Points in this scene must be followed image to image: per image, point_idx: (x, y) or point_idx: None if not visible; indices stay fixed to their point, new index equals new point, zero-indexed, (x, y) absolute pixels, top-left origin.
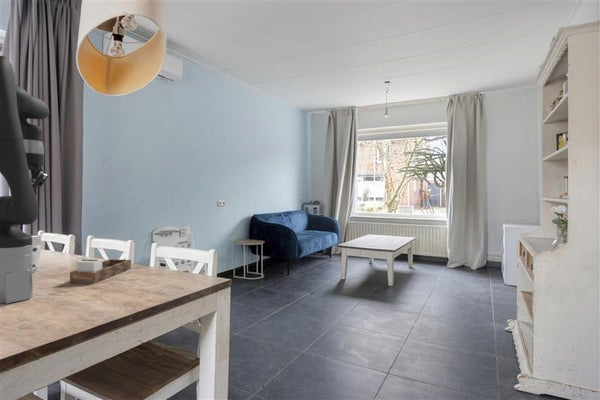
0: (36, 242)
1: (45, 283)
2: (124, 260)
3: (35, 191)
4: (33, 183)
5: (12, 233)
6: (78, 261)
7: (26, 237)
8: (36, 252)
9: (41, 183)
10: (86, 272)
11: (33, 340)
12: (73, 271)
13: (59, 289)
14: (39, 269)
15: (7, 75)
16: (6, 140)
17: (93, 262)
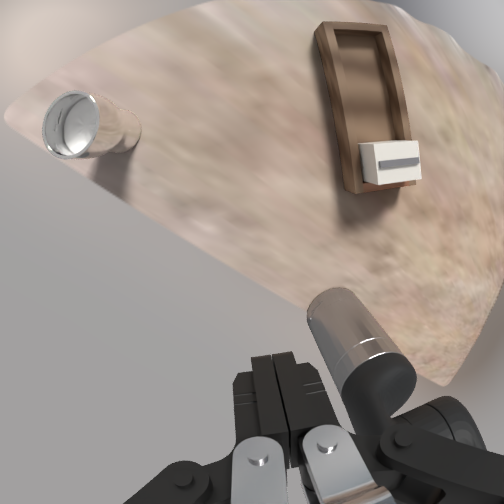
0: (110, 121)
1: (292, 213)
2: (375, 31)
3: (328, 409)
4: (286, 495)
5: (393, 409)
6: (379, 179)
7: (415, 384)
8: (123, 124)
9: (439, 454)
10: (395, 185)
11: (450, 368)
12: (358, 185)
13: (365, 241)
14: (135, 115)
15: None
16: None
17: (420, 178)
